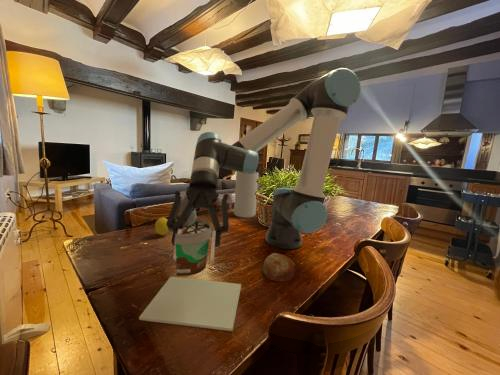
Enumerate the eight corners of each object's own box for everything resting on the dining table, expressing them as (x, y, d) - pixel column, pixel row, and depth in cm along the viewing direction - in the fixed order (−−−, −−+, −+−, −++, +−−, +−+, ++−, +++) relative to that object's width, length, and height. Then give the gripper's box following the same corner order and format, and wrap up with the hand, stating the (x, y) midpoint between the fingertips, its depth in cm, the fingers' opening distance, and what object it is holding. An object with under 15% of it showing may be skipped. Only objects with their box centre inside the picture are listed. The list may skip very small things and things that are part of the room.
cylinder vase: (256, 213, 137) (260, 172, 133) (253, 219, 125) (256, 173, 121) (236, 211, 139) (239, 170, 135) (231, 216, 127) (233, 171, 123)
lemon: (172, 234, 95) (172, 216, 94) (163, 239, 90) (163, 219, 89) (161, 232, 97) (161, 214, 96) (151, 236, 92) (151, 217, 91)
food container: (201, 283, 48) (203, 238, 46) (173, 279, 49) (174, 234, 47) (217, 257, 60) (219, 220, 58) (194, 254, 61) (195, 217, 59)
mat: (241, 286, 63) (241, 284, 63) (232, 331, 47) (232, 328, 47) (170, 278, 64) (170, 276, 64) (139, 319, 48) (139, 317, 48)
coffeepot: (170, 222, 110) (171, 185, 107) (185, 218, 118) (186, 184, 115) (194, 230, 102) (195, 190, 100) (208, 225, 110) (209, 188, 108)
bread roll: (265, 275, 76) (256, 254, 75) (293, 263, 77) (285, 242, 75) (270, 293, 67) (260, 270, 65) (302, 280, 67) (293, 256, 65)
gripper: (239, 187, 68) (238, 266, 54) (169, 183, 65) (150, 263, 52) (241, 171, 61) (241, 255, 48) (165, 166, 59) (142, 252, 46)
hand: (194, 259), depth 50 cm, fingers closed on food container, 7 cm apart
